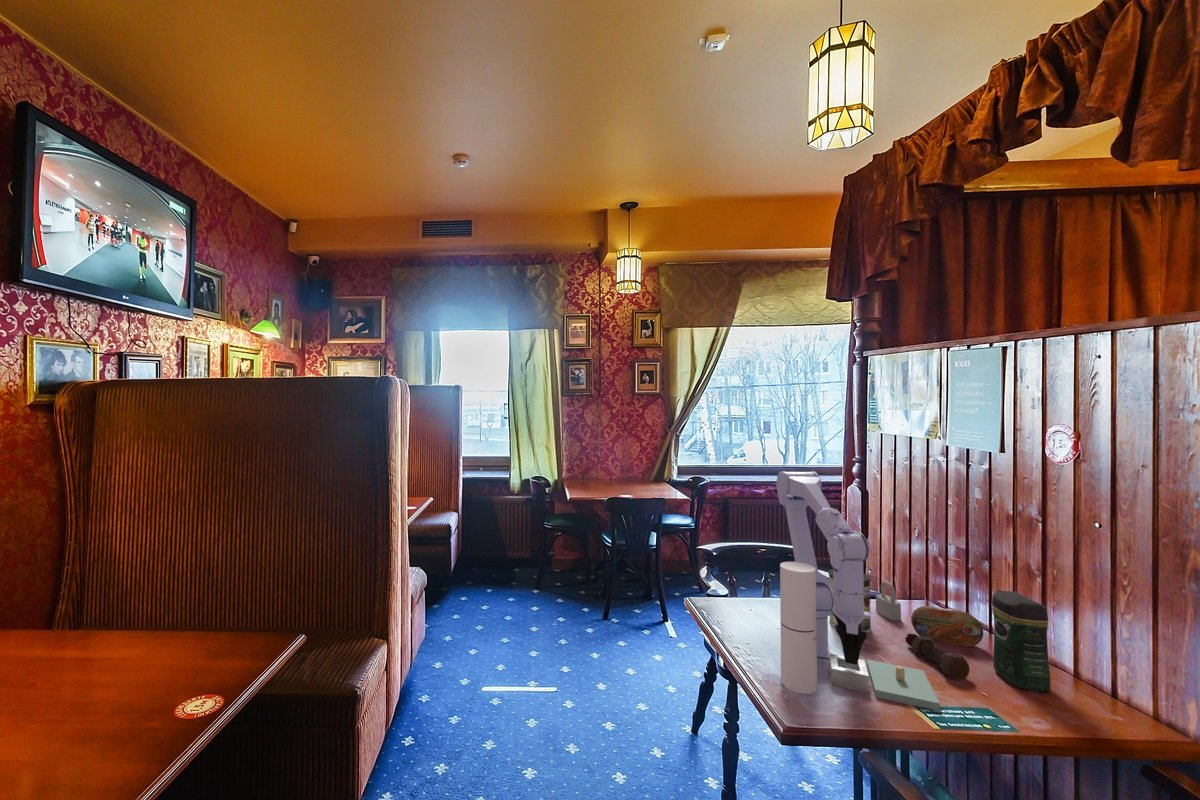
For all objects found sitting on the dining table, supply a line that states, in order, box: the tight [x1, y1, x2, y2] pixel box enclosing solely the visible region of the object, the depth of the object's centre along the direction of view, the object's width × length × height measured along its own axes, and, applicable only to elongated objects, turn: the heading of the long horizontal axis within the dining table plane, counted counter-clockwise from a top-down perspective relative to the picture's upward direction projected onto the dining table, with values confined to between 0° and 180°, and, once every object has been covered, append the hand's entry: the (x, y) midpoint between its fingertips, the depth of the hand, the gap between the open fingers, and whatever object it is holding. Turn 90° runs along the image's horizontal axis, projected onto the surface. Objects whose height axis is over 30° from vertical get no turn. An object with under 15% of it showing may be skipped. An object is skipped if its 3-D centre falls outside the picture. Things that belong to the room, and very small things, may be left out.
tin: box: [910, 605, 984, 648], centre depth 118 cm, size 15×3×8 cm, turn 68°
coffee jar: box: [991, 590, 1051, 693], centre depth 101 cm, size 10×8×19 cm
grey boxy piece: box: [829, 653, 870, 694], centre depth 100 cm, size 7×7×4 cm
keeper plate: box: [866, 659, 941, 712], centre depth 98 cm, size 11×13×4 cm
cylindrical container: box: [779, 561, 818, 695], centre depth 99 cm, size 7×7×25 cm
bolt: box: [904, 633, 970, 681], centre depth 108 cm, size 6×5×15 cm
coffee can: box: [828, 568, 872, 634], centre depth 127 cm, size 10×10×14 cm
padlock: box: [875, 580, 902, 622], centre depth 134 cm, size 7×4×10 cm, turn 2°
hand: (849, 654), depth 97 cm, fingers open, 7 cm apart
